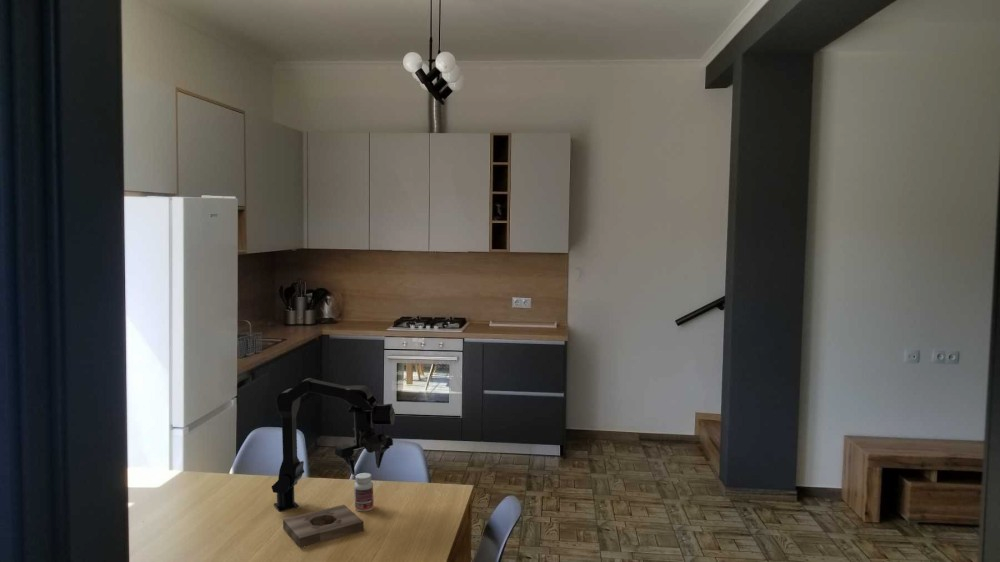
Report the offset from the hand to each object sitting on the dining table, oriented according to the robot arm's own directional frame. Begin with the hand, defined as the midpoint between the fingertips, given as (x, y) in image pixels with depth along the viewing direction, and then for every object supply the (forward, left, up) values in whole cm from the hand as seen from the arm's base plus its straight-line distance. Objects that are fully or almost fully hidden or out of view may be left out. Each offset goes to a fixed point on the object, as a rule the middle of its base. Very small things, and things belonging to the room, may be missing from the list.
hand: (365, 471), depth 228 cm
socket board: (+6, -17, -13) cm, 23 cm away
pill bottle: (-2, 0, -13) cm, 14 cm away
